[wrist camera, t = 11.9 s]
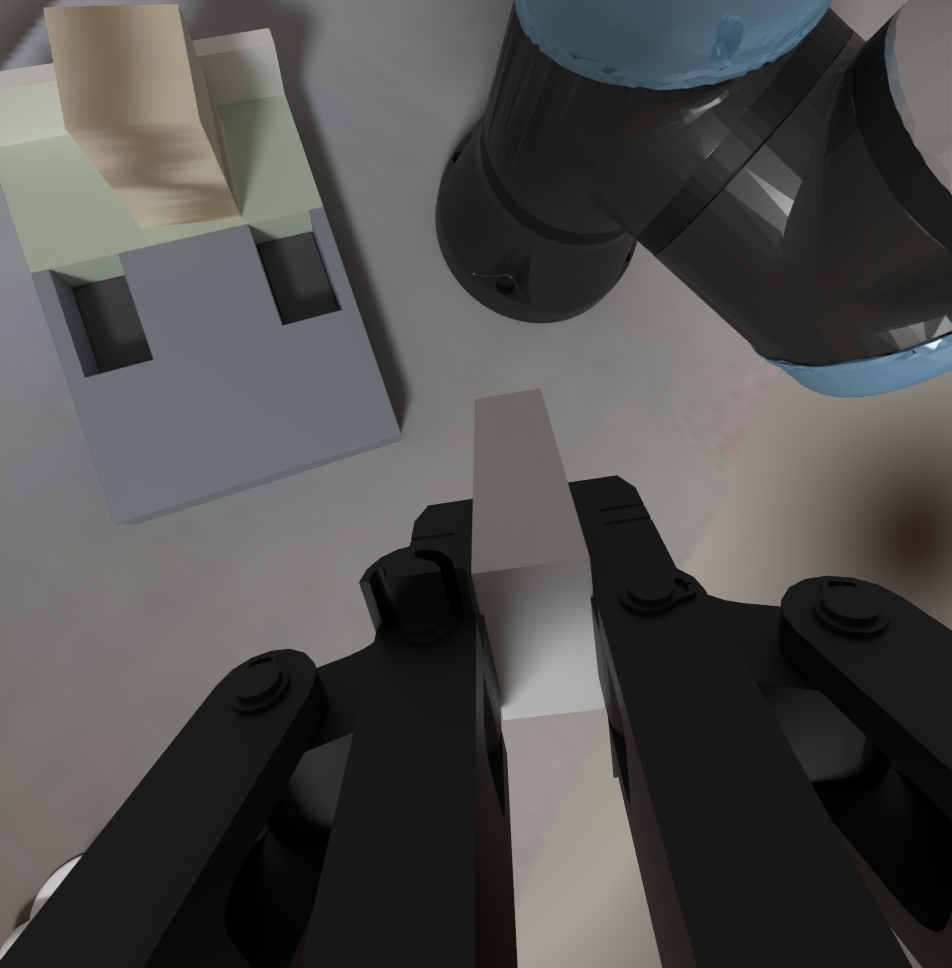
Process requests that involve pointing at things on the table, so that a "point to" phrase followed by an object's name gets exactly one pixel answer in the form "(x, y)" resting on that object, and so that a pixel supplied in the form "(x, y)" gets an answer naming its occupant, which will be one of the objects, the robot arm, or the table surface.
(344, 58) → the table surface
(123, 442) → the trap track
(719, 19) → the robot arm
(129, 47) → the ash block
